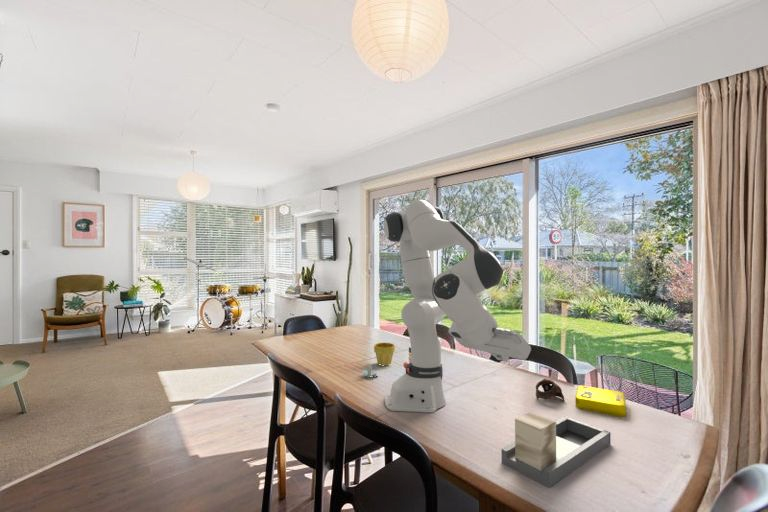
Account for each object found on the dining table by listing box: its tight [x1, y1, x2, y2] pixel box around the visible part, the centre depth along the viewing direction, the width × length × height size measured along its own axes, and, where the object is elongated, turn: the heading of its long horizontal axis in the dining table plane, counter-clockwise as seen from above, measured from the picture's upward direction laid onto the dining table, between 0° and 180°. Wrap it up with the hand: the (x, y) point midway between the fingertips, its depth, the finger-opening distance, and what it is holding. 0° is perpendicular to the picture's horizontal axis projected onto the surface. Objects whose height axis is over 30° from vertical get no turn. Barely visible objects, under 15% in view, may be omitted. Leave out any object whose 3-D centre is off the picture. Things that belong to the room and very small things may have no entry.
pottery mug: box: [535, 378, 565, 402], centre depth 136 cm, size 12×10×8 cm
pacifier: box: [362, 363, 378, 378], centre depth 162 cm, size 7×6×6 cm
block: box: [514, 411, 556, 471], centre depth 91 cm, size 7×7×10 cm
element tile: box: [575, 385, 627, 418], centre depth 129 cm, size 15×15×5 cm
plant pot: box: [373, 342, 396, 366], centre depth 180 cm, size 10×10×10 cm
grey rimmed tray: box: [500, 415, 612, 489], centre depth 98 cm, size 32×13×4 cm, turn 126°
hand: (503, 358), depth 96 cm, fingers closed
